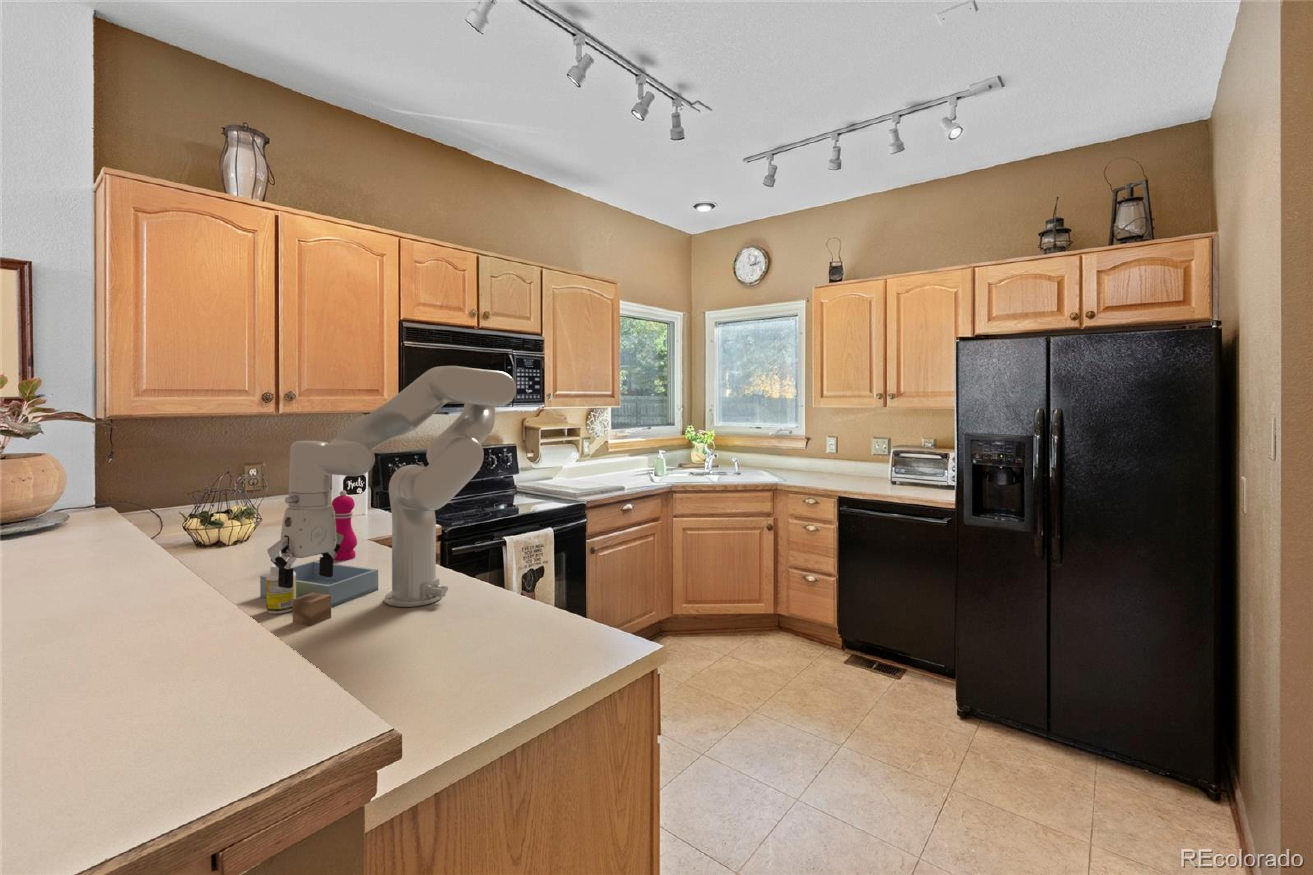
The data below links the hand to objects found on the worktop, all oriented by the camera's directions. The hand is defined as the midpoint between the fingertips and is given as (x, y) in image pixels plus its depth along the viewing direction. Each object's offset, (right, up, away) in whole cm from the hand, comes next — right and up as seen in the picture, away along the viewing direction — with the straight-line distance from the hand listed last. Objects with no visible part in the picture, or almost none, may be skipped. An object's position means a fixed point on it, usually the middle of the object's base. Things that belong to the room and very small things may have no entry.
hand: (306, 581), depth 125 cm
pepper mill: (-19, -6, +51) cm, 54 cm away
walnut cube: (0, -9, +1) cm, 9 cm away
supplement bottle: (-9, -8, +7) cm, 14 cm away
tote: (-7, -7, +19) cm, 21 cm away
